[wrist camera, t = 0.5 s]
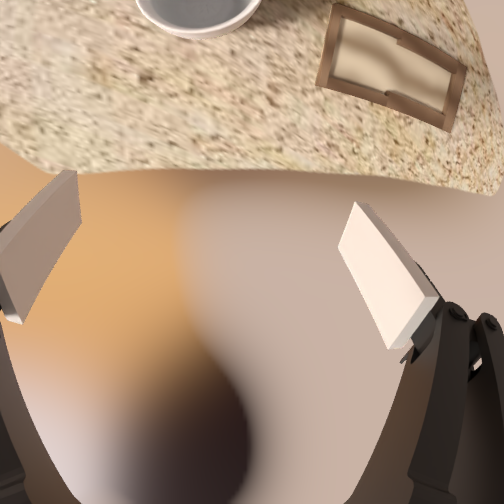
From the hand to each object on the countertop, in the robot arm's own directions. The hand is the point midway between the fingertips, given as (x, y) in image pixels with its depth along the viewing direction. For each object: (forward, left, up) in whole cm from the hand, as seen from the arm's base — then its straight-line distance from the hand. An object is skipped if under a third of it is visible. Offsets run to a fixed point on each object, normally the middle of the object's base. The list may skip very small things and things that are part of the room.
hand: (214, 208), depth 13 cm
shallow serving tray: (-12, +23, -26) cm, 37 cm away
